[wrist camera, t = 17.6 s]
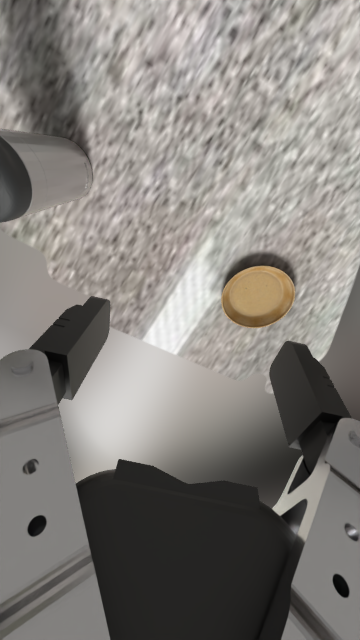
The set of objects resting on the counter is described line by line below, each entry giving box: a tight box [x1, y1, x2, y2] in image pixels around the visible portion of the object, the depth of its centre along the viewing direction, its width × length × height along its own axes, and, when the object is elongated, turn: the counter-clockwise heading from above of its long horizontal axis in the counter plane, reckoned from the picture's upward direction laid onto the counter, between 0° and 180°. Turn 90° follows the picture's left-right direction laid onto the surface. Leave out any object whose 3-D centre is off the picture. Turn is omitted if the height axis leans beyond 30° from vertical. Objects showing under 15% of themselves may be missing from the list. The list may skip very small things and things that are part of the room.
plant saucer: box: [221, 266, 295, 328], centre depth 50 cm, size 15×15×3 cm
